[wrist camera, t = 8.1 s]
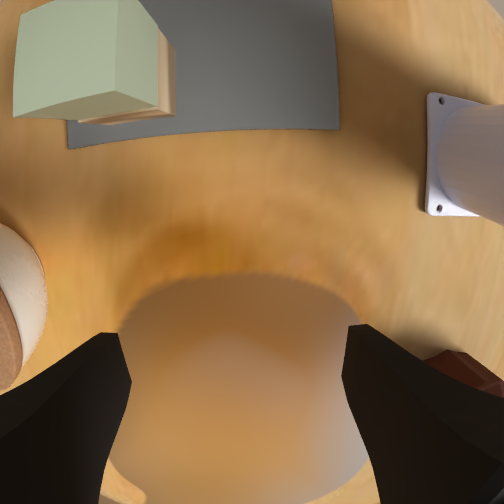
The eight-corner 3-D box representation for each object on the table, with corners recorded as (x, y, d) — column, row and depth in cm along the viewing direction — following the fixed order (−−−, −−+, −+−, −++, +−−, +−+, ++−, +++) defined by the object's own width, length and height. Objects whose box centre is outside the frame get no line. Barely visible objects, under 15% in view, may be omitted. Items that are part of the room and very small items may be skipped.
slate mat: (323, -41, 13) (325, -44, 13) (337, 129, 17) (339, 129, 17) (78, -15, 13) (75, -18, 13) (71, 149, 17) (68, 149, 17)
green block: (158, 25, 11) (121, -21, 6) (157, 106, 12) (115, 90, 8) (79, 43, 11) (20, 14, 6) (77, 120, 12) (12, 117, 8)
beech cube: (175, 50, 15) (158, 27, 11) (176, 116, 16) (158, 109, 13) (109, 61, 15) (79, 45, 11) (110, 125, 16) (78, 122, 12)
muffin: (472, 401, 26) (514, 464, 16) (381, 443, 27) (410, 520, 17) (485, 315, 22) (554, 381, 12) (374, 365, 23) (423, 463, 13)
